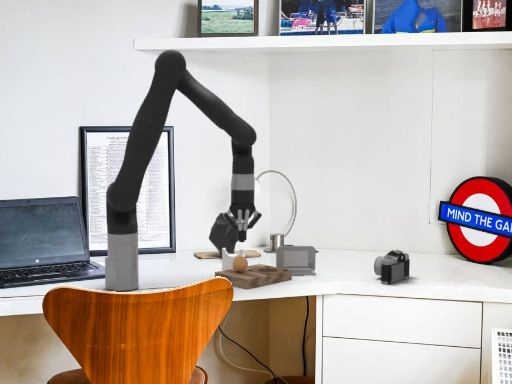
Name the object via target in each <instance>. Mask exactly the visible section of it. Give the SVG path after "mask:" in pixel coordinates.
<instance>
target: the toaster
mask: <svg viewBox="0 0 512 384" xmlns="http://www.w3.org/2000/svg"><path fill="white" fill-rule="evenodd" d="M275 254H276V255H275V267H277V268H282V269H287V270H292V277H296V276H301V277H302V276H303V277H304V276H316V248H315V247H314V246H312V245H280V246H278V247H277V248H276V251H275Z"/></svg>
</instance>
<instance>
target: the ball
mask: <svg viewBox="0 0 512 384" xmlns="http://www.w3.org/2000/svg"><path fill="white" fill-rule="evenodd" d="M232 265H233V269H235V270H236V271H238V272H242V271H244V270H246V268H247V266H249V262H248V259H247V258H246V256H245V257H243V256H238V257H236V258H235V259H234V260H233V263H232Z"/></svg>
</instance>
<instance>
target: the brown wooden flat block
mask: <svg viewBox="0 0 512 384" xmlns="http://www.w3.org/2000/svg"><path fill="white" fill-rule="evenodd" d="M216 276H221V277H225V278H227V279H228V280H229V281H230V282H231V283H232V285H233V286H232V287H236V288H241V289H245V290H250V289H255V288H258V287H264V286H269V285H273V284H278V283H283V282H286V281H291V280H292V279H293V278H292V277H293V276H292V270H287V269H282V268H277V267H276V266H272V265H266V264H261V263H257V264H253V265H252V264H251V265H248V266H247V268H246V270H244V271H242V272H238V271H236V270H235V269H234V268H233V269H229V270H220V271H214V278H215V277H216Z"/></svg>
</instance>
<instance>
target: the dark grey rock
mask: <svg viewBox="0 0 512 384" xmlns="http://www.w3.org/2000/svg"><path fill="white" fill-rule="evenodd" d="M223 213H224V212H220V213H219V214H218V216H217V217H216V218H215V221H214V223H213V225H212V227H210V232H209V235H208V240H209V241H210V243H211V244H212V245H213V246H214V247H215V248H216V250H217V252H219V255H220V256H222V249H223V248H226V251H227V253H228V254H235V249H236V245H237V242H239V241H238V240H237V229H234V228H232V227H231V225H230V224H229V223H228V221H227V220H226V219H225V217H224V216H223ZM230 218H231V220H232V221H233V222H234V224H235V225H237V223H236V219H235V218H234V216H233V215H231V217H230Z"/></svg>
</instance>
